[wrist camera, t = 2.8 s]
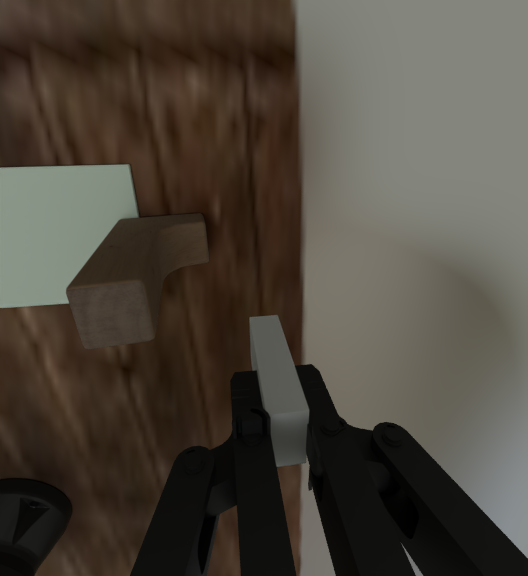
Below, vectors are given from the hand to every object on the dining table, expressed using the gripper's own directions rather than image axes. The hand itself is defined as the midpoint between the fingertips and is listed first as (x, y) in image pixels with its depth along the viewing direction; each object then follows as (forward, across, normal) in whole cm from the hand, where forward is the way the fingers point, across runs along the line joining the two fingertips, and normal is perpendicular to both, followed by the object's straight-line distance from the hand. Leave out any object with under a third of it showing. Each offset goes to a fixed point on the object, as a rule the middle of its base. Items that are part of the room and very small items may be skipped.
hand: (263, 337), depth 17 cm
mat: (+22, +21, 0) cm, 31 cm away
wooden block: (+22, +8, 0) cm, 24 cm away
